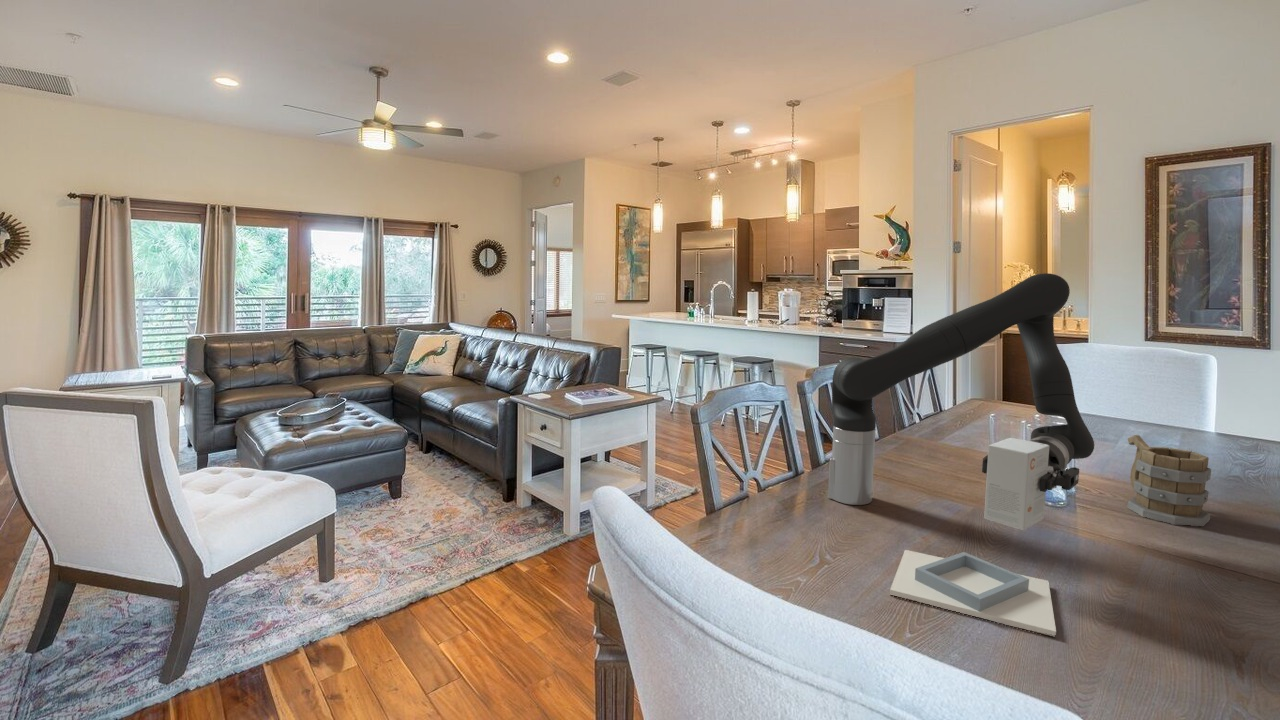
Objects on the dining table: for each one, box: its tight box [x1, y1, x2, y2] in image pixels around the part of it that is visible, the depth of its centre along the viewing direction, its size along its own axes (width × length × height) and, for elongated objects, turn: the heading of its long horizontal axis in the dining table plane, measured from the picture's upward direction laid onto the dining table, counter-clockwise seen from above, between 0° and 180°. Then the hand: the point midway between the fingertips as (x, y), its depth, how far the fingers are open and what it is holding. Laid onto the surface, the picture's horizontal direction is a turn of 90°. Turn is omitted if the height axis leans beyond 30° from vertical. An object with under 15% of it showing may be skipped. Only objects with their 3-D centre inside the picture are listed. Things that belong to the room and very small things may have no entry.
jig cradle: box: [889, 549, 1057, 636], centre depth 96 cm, size 22×17×3 cm
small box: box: [983, 437, 1049, 531], centre depth 98 cm, size 8×6×13 cm
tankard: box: [1126, 434, 1212, 527], centre depth 131 cm, size 20×13×15 cm, turn 170°
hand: (1016, 480), depth 98 cm, fingers closed on small box, 7 cm apart
